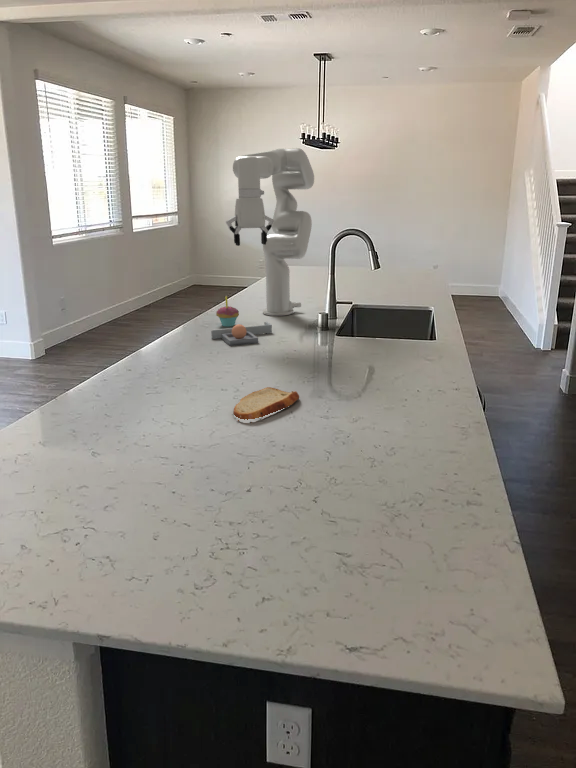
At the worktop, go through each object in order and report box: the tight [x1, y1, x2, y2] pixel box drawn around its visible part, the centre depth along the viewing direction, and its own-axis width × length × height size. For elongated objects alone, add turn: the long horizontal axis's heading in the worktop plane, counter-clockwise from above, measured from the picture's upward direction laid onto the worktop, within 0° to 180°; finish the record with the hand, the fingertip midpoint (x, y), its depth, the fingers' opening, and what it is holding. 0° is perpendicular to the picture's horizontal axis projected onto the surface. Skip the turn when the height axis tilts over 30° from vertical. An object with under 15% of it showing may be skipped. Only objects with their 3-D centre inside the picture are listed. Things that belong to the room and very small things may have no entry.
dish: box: [221, 331, 259, 347], centre depth 218 cm, size 10×10×2 cm
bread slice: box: [232, 386, 300, 420], centre depth 156 cm, size 18×18×4 cm
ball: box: [231, 323, 247, 339], centre depth 218 cm, size 5×5×5 cm
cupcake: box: [215, 295, 240, 328], centre depth 240 cm, size 9×8×12 cm
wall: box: [210, 321, 273, 340], centre depth 228 cm, size 22×6×3 cm, turn 111°
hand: (250, 244), depth 227 cm, fingers open, 9 cm apart
